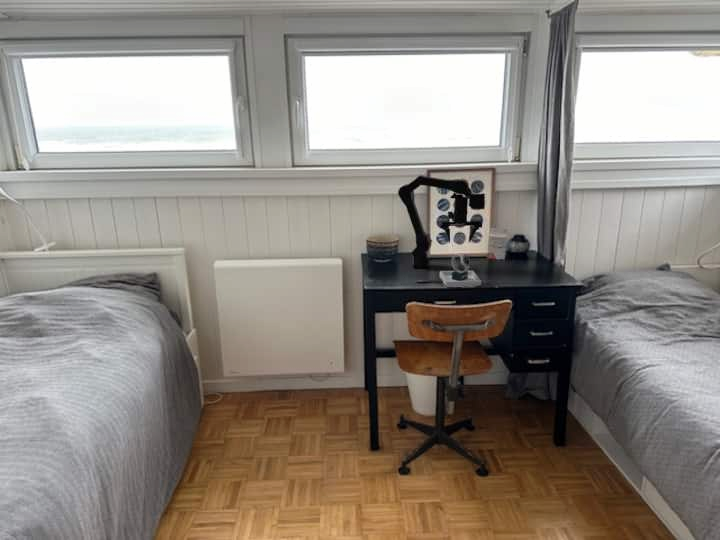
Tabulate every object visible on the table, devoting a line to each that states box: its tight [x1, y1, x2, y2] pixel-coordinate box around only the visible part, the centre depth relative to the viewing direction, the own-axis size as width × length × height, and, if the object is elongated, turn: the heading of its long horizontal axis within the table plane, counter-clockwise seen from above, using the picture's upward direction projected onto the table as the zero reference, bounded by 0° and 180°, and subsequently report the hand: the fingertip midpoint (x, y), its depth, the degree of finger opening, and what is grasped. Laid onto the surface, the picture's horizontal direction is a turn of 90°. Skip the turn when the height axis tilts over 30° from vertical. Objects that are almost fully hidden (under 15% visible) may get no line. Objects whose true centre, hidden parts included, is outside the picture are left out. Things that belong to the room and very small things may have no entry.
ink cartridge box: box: [486, 227, 508, 261], centre depth 241 cm, size 9×5×15 cm, turn 71°
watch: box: [451, 253, 471, 281], centre depth 208 cm, size 6×8×11 cm
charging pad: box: [415, 270, 482, 286], centre depth 209 cm, size 26×15×3 cm, turn 91°
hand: (459, 242), depth 222 cm, fingers open, 9 cm apart
